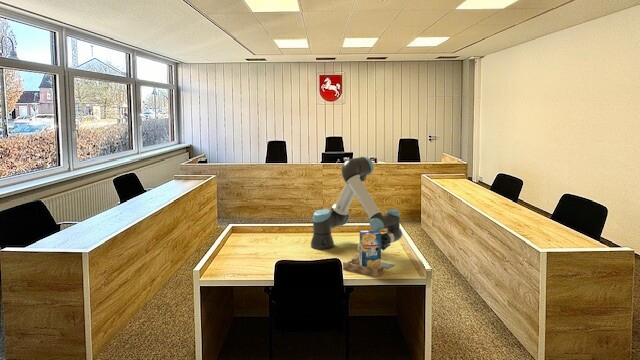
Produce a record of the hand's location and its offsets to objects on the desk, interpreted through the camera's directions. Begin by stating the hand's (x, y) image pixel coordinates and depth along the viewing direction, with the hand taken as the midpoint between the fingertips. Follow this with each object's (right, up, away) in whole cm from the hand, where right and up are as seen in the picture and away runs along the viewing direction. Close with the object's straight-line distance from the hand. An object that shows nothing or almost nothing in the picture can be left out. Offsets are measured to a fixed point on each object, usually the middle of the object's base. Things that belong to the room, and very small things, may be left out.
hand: (365, 249), depth 294 cm
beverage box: (+3, -13, +6) cm, 14 cm away
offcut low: (-5, -12, +12) cm, 17 cm away
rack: (-1, -13, +5) cm, 14 cm away
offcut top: (-5, -9, +11) cm, 15 cm away
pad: (+10, -11, +15) cm, 21 cm away
